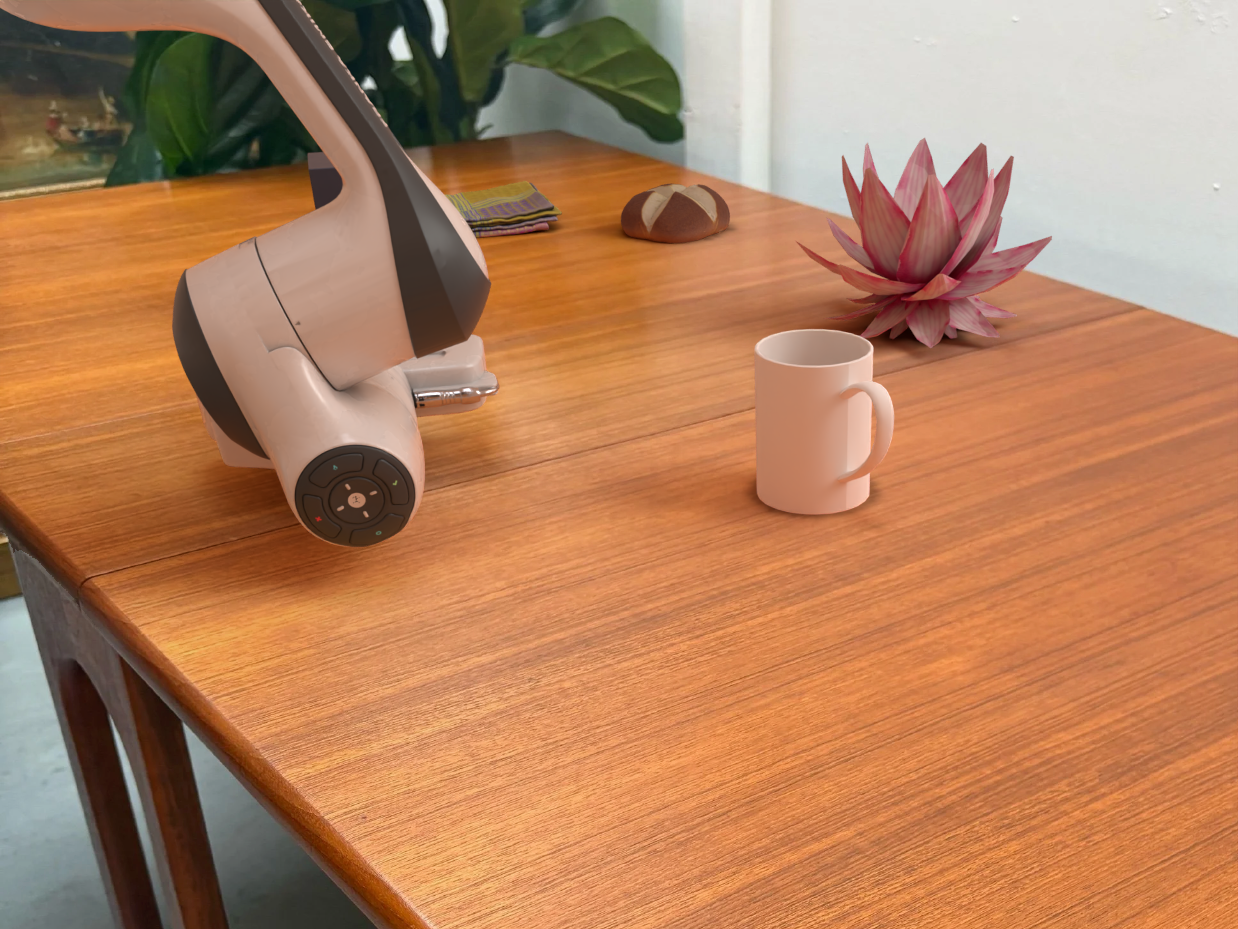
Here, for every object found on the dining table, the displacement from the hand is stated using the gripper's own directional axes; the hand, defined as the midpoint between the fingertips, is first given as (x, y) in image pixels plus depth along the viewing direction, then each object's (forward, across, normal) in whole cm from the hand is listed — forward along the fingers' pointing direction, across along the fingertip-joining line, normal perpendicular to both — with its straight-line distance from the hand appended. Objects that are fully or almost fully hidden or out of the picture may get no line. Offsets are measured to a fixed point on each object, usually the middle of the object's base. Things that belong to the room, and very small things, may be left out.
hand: (340, 346), depth 112 cm
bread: (+52, -36, +7) cm, 64 cm away
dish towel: (+63, -12, +7) cm, 65 cm away
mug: (-24, -31, +7) cm, 40 cm away
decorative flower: (+11, -50, +7) cm, 52 cm away
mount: (+27, -1, +6) cm, 28 cm away
